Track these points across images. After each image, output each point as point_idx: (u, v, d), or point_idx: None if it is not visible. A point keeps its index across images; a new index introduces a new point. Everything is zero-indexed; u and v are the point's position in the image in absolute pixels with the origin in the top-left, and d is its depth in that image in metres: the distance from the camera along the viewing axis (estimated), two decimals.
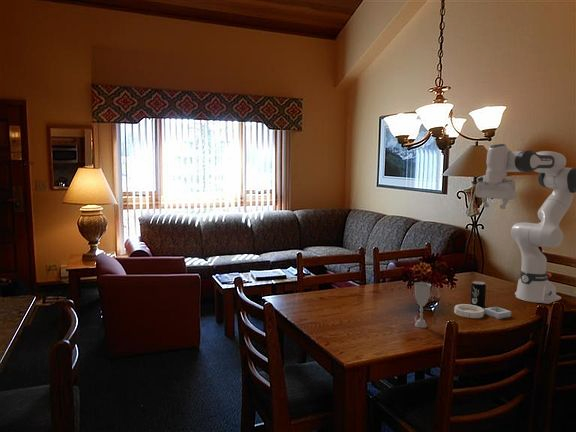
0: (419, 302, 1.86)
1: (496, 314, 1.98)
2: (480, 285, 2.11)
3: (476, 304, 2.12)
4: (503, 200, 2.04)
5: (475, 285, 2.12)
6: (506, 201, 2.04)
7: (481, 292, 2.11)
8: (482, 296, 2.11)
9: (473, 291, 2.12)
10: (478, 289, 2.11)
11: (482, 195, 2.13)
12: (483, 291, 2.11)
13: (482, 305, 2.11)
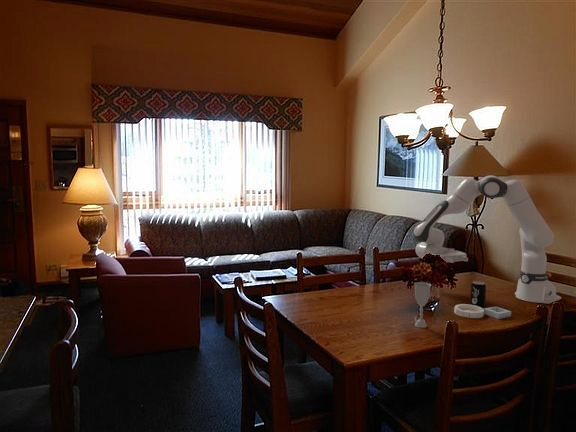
0: (419, 302, 1.86)
1: (496, 314, 1.98)
2: (480, 285, 2.11)
3: (476, 304, 2.12)
4: None
5: (475, 285, 2.12)
6: (445, 259, 2.24)
7: (481, 292, 2.11)
8: (482, 296, 2.11)
9: (473, 291, 2.12)
10: (478, 289, 2.11)
11: None
12: (483, 291, 2.11)
13: (482, 305, 2.11)
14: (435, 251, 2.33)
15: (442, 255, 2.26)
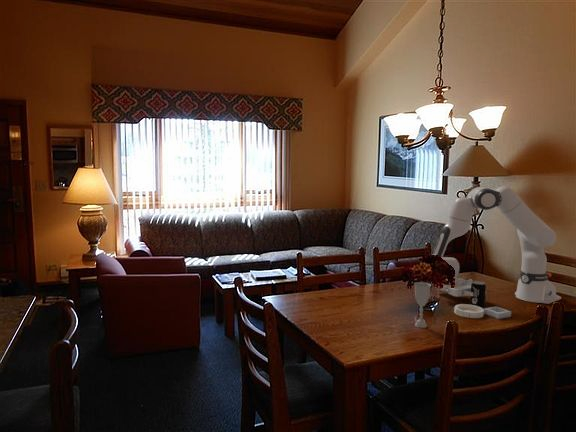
0: (419, 302, 1.86)
1: (496, 314, 1.98)
2: (480, 285, 2.11)
3: (476, 304, 2.12)
4: None
5: (475, 285, 2.12)
6: (464, 293, 2.14)
7: (481, 292, 2.11)
8: (482, 296, 2.11)
9: (473, 291, 2.12)
10: (478, 289, 2.11)
11: None
12: (483, 291, 2.11)
13: (482, 305, 2.11)
14: None
15: (460, 288, 2.16)
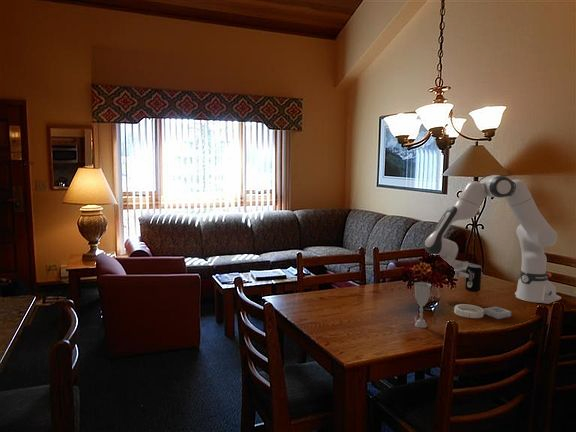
0: (419, 302, 1.86)
1: (496, 314, 1.98)
2: (475, 268, 2.04)
3: (471, 288, 2.05)
4: None
5: (470, 268, 2.05)
6: (460, 274, 2.07)
7: (477, 275, 2.04)
8: (477, 279, 2.04)
9: None
10: (473, 272, 2.04)
11: None
12: (479, 274, 2.04)
13: (477, 289, 2.05)
14: None
15: (455, 269, 2.09)
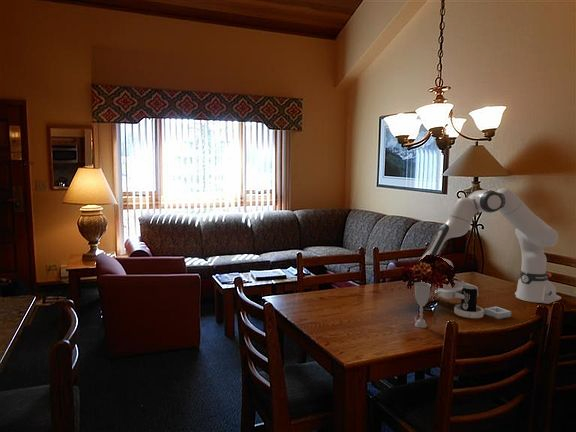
0: (419, 302, 1.86)
1: (496, 314, 1.98)
2: (471, 289, 2.00)
3: (467, 310, 2.01)
4: None
5: (466, 290, 2.01)
6: (455, 295, 2.03)
7: (472, 297, 2.00)
8: (473, 301, 2.01)
9: None
10: (469, 294, 2.00)
11: None
12: (474, 296, 2.00)
13: (473, 311, 2.01)
14: None
15: (451, 290, 2.05)
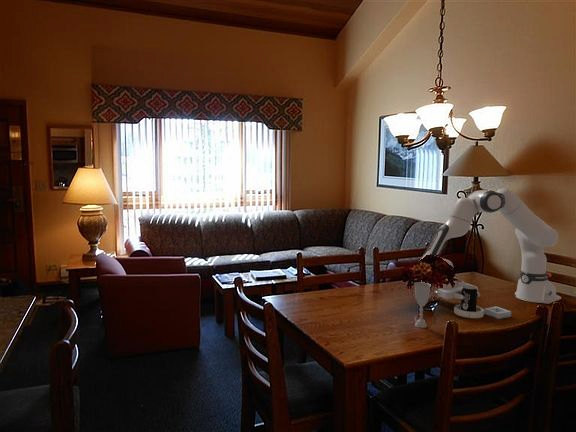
0: (419, 302, 1.86)
1: (496, 314, 1.98)
2: (471, 289, 2.00)
3: (467, 310, 2.01)
4: None
5: (466, 290, 2.01)
6: (454, 295, 2.03)
7: (472, 297, 2.00)
8: (473, 301, 2.01)
9: None
10: (469, 294, 2.00)
11: None
12: (474, 296, 2.00)
13: (473, 311, 2.01)
14: (443, 285, 2.13)
15: (451, 290, 2.05)
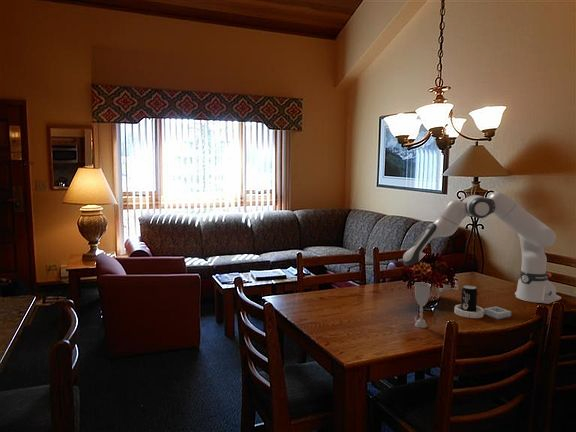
0: (419, 302, 1.86)
1: (496, 314, 1.98)
2: (471, 289, 2.00)
3: (467, 310, 2.01)
4: None
5: (466, 290, 2.01)
6: None
7: (472, 297, 2.00)
8: (473, 301, 2.01)
9: (463, 296, 2.02)
10: (469, 294, 2.00)
11: None
12: (474, 296, 2.00)
13: (473, 311, 2.01)
14: None
15: None
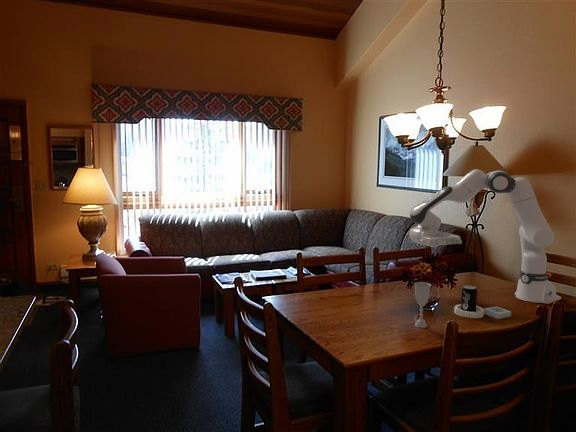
0: (419, 302, 1.86)
1: (496, 314, 1.98)
2: (471, 289, 2.00)
3: (467, 310, 2.01)
4: None
5: (466, 290, 2.01)
6: (438, 242, 2.19)
7: (472, 297, 2.00)
8: (473, 301, 2.01)
9: (463, 296, 2.02)
10: (469, 294, 2.00)
11: (453, 243, 2.27)
12: (474, 296, 2.00)
13: (473, 311, 2.01)
14: (428, 234, 2.29)
15: (435, 238, 2.21)
